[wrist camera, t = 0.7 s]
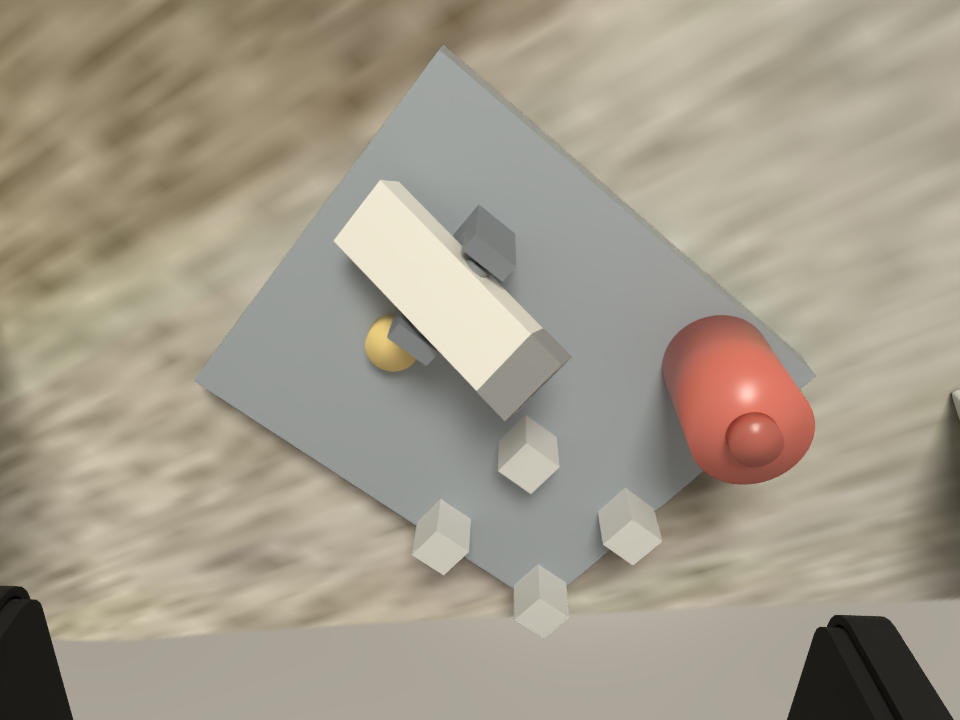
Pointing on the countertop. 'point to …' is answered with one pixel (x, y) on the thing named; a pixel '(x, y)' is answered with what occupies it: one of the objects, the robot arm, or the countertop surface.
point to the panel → (446, 393)
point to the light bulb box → (957, 401)
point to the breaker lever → (451, 298)
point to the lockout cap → (736, 401)
